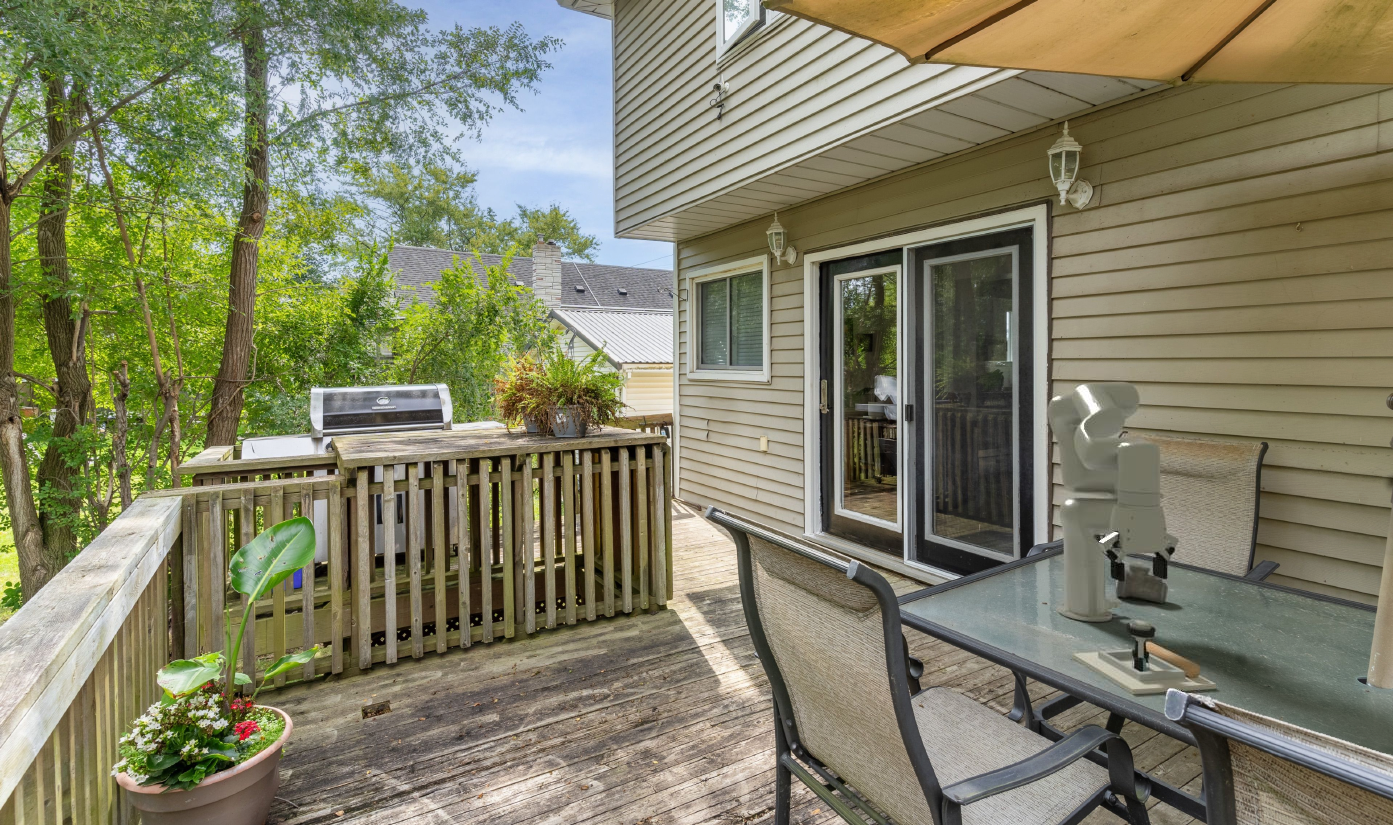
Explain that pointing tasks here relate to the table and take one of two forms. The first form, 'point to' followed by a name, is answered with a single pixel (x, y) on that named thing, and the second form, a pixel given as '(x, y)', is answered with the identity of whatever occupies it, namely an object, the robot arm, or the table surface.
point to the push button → (1140, 642)
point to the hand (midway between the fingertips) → (1138, 578)
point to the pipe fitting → (1141, 585)
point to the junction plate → (1159, 671)
